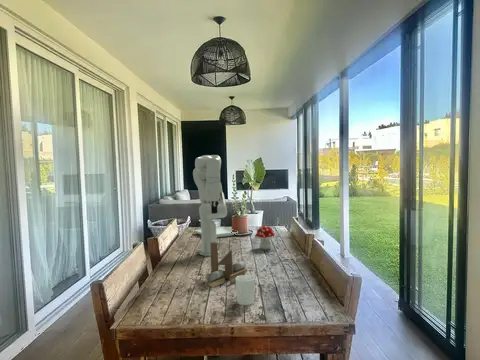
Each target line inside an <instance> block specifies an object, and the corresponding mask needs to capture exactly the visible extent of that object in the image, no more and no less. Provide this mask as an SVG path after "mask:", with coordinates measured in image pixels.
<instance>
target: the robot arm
mask: <svg viewBox="0 0 480 360" xmlns="http://www.w3.org/2000/svg"><path fill="white" fill-rule="evenodd" d="M194 167H195V168H194V169H193V171H192V176H193V181H194V184H195V185H196V187H197V189H198V191H197V192H198V196H199V202H200V203H201V205H200V206H199V207H198V213H199V218H200V229H201V235H200V237H201V245H198V249H199V250H200V251H199V255H201V256H205V257H208V256H209V257H211V248H210V243H211V242H217V243H218V241H217V236H216V227H217V224H216V223H215V222H214V220H213V219H221V218H222V219H223V218H226V217H227V215H228V206H227V203H226V202H227V201H226V199H225V194H224V192H223V191H224V190H223V186H222V182H221V167H222V159H221V157H220V156H219V155H218V154H211V155H210V154H205V155H204V154H203V155H201V156H199V157H196V158H195V160H194ZM219 254H220V250H219V249H218V255H219Z"/></svg>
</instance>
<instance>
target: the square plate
mask: <svg viewBox="0 0 480 360" xmlns="http://www.w3.org/2000/svg"><path fill="white" fill-rule="evenodd" d="M232 230H233V229H232V228H230V227H226V226H216V236H217V238H224V237H225V238H226V237H232V236H235V235H237V234H238V233H239V231H237V232H232ZM194 232H195V233H196V234H198V235H200V236H201V228H199V229H194ZM231 232H232V233H231ZM236 233H237V234H236ZM234 234H235V235H234Z"/></svg>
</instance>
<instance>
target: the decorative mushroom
mask: <svg viewBox="0 0 480 360" xmlns="http://www.w3.org/2000/svg"><path fill="white" fill-rule="evenodd" d="M254 238H256V239H257V240H258V239H259V240H260V242H259V246H258V247H259V249H261V250H263V251H265V250H266V251H267V250H270V249H271V248H272V242H271V241H270V240H271V239H272V240H273V239H275V238H276V234H275V233H274V230H273V228H272V227H271V226H268V225H262V226H260V227H259V228H258V229H257V231H256V234H255V235H254Z"/></svg>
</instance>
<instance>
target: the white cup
mask: <svg viewBox="0 0 480 360" xmlns="http://www.w3.org/2000/svg"><path fill="white" fill-rule="evenodd" d="M255 279H256V278H255V276H254V275H249V274H245V275H240V276H237V277H236V278H235V280H236V283H235V290H236V291H235V293H236V302H237V304H239V305H241V306H250V305H252V304H254V302H255V289H256V288H255V287H256V286H255V281H256V280H255Z"/></svg>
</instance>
